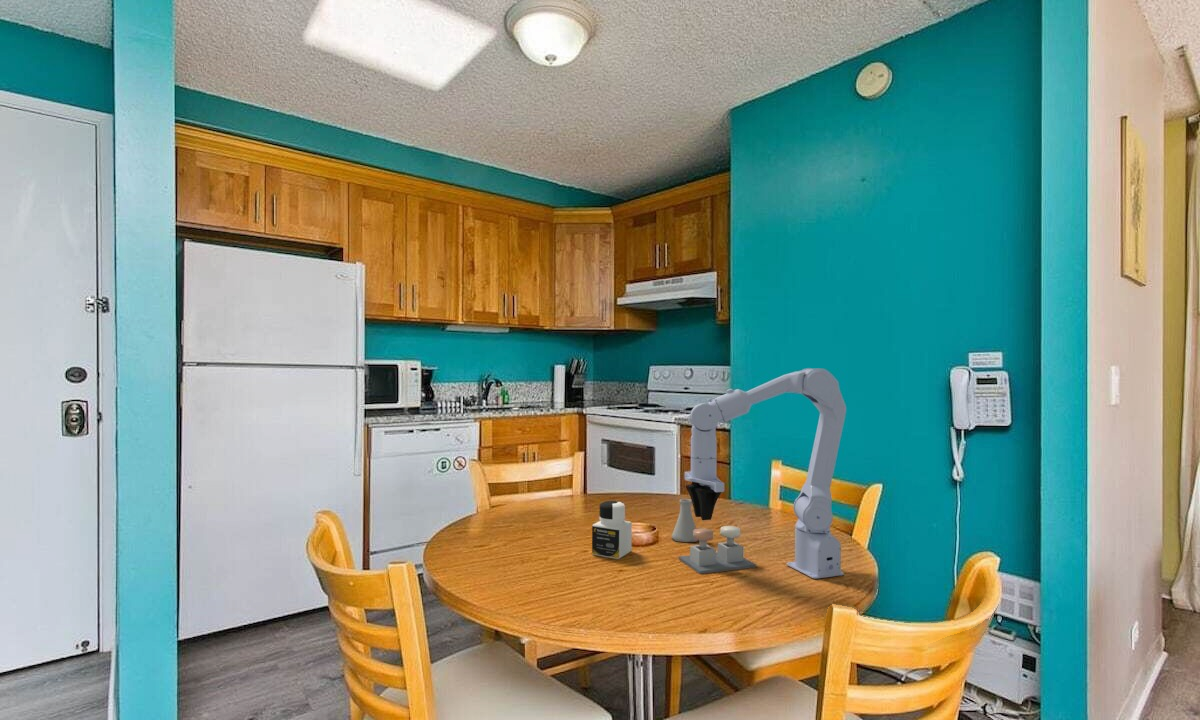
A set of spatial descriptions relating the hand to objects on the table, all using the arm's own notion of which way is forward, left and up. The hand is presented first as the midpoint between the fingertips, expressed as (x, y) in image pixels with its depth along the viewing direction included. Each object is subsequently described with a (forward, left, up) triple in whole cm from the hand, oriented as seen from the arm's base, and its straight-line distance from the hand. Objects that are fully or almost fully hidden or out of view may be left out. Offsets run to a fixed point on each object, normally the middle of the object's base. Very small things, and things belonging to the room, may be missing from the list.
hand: (703, 518), depth 133 cm
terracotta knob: (0, 0, -7) cm, 7 cm away
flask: (+19, -6, -11) cm, 22 cm away
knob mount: (0, -4, -10) cm, 11 cm away
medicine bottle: (+14, +16, -11) cm, 24 cm away
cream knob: (0, -7, -7) cm, 10 cm away
